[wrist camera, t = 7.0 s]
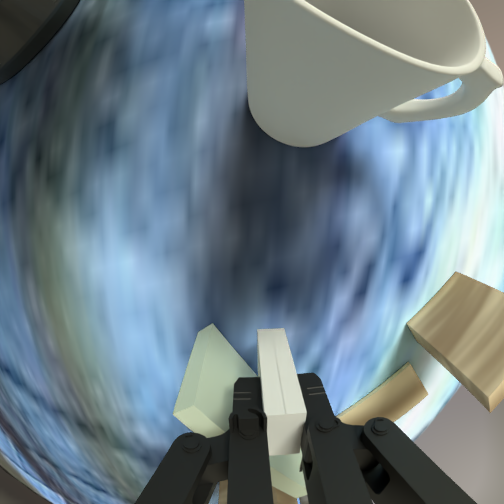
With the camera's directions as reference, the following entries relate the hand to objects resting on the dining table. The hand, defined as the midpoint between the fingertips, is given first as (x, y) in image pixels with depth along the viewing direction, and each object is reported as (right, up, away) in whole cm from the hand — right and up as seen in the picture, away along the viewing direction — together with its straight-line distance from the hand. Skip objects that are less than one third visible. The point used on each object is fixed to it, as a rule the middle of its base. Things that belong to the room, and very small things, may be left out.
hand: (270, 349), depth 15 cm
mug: (+3, +14, 0) cm, 15 cm away
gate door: (-1, -4, +3) cm, 5 cm away
